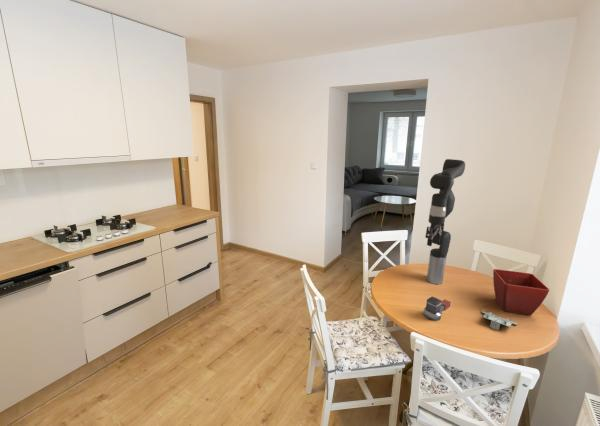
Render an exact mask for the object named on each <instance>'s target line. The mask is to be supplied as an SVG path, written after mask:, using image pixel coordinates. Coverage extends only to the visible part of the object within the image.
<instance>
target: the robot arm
mask: <svg viewBox="0 0 600 426" xmlns="http://www.w3.org/2000/svg"><path fill="white" fill-rule="evenodd" d="M465 168H466V162H465V161H464V160H461V159H453V158H452V159H451V158H447V159H445V160H444V162H443V166H442V171H441V172H438V173H434V174H433V175H432V176H431V178H430V181H429V185H430V187H431V188H433V189H434V190H435V189H436V190H439V192H438V193H433V194H432V196H431V204H430V207H429V213H428V214H429V215H428V223H429V224H430V226H427V227H426V232H425V236H424V237H425V239H427V243H426V246H428V247H432V245H433V244H435V245H437V246H439V247H438V248H432V249H430V250H429V251H430V253H429V259H428V260H429V261H428V268H427V274H426V281H427V282H429V283H431V284H433V285H441V284H443V282H444V275H445V269H446V263H447V262H446V261H447V256H448V253H449V247H450V244H451V237H452V234H451V233H450V232H449V231H446V230H445V229H444V228H445V220H446V218H447V217H448V216H450V214H451V213H452V212H453V210H454V208H455V207H454V206H455V201H456V197H455V194H454V192H453V190H452V188H453V186H454V183H455V179H456V178H459V177H461V176H463V174H464V173H465Z"/></svg>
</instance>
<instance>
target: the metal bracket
mask: <svg viewBox="0 0 600 426" xmlns="http://www.w3.org/2000/svg"><path fill="white" fill-rule="evenodd" d="M481 314H483V316H482V318H485V319H486V320H490V325H489V327H490V328H491V329H493V330H497V331H499V330H500V327H501V325H503V326H506V327H508V328H510V327H511V326H512V325H515V326H518V322H515V321H512V320H509V319H510V318H509V317H507V318H504V317H500V316H497V315H495V314H492V312H491V311H489V312H486V311H483V310H482V311H481Z"/></svg>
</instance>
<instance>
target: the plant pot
mask: <svg viewBox="0 0 600 426" xmlns="http://www.w3.org/2000/svg"><path fill="white" fill-rule="evenodd" d="M492 274H493V276H492V280H493V290H494V296H495V300H496V302H497V303H498V305H500V307H501V309H502V310H503V311H504V312H508V313H515V314H521V315H527V316H532V315H533V314H534V313H535V312H536V311H537V310H538V309H539V307H540V306H541V305H542V304H543V302H544V300H545V299H546V298H547V296H548V294H549V292H550V288H548V286H547V285H545V283H544V282H542V281H541V280H540V279H539V278H538V277H536V276H535V275H534V274H533V273H529V272H523V271H522V272H521V271H515V270H507V269H498V268H497V269H496V268H494V269H493V273H492Z"/></svg>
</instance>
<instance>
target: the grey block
mask: <svg viewBox="0 0 600 426" xmlns="http://www.w3.org/2000/svg"><path fill="white" fill-rule="evenodd" d="M442 301H443V300H441V299H439V298H437V297H434V296H431V297H429V298H426V305H425V307H426V311H428V312H430V313H432V314H434V315H436V314H437V313H438V312H440V309H441V303H442Z"/></svg>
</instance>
